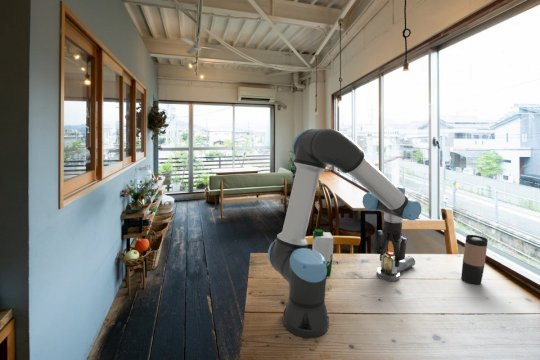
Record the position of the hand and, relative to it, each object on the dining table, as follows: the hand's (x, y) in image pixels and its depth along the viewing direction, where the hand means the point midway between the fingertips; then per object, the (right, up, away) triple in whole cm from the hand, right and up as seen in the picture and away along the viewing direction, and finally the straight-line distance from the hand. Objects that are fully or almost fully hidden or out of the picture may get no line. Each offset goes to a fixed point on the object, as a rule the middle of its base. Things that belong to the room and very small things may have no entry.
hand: (388, 270), depth 124 cm
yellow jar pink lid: (0, -2, 0) cm, 2 cm away
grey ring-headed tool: (+6, -2, +5) cm, 8 cm away
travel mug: (+35, -4, -3) cm, 36 cm away
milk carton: (-30, -2, +2) cm, 30 cm away
